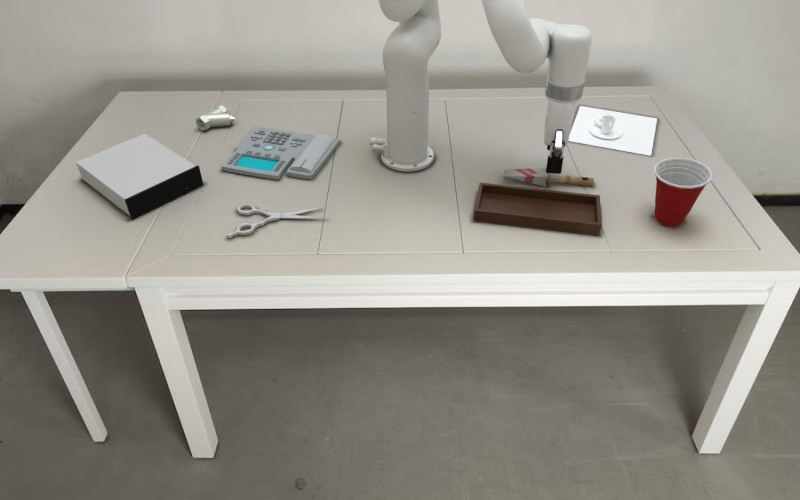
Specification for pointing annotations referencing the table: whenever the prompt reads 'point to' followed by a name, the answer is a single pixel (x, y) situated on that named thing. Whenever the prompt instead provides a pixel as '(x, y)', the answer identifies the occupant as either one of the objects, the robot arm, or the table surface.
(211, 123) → the pipe fitting
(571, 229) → the tray
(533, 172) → the paintbrush
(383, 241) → the table surface
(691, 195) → the plastic cup
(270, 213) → the scissors
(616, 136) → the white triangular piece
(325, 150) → the office telephone
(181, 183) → the disc drive
